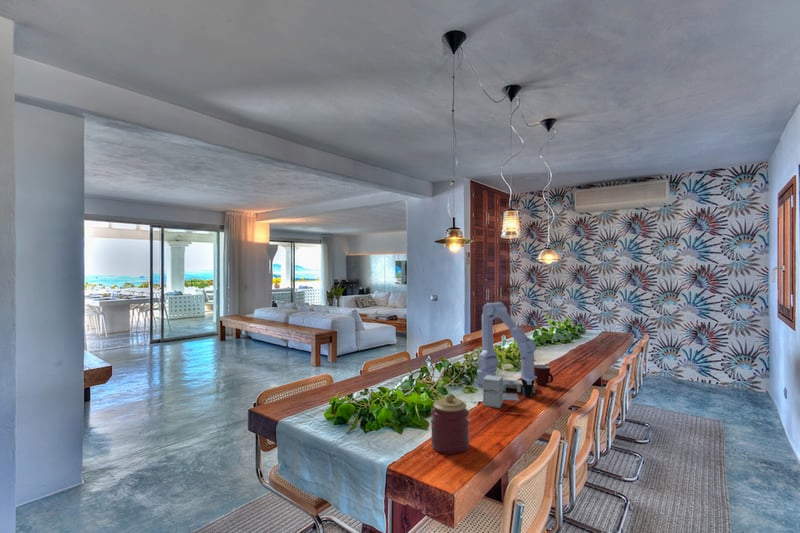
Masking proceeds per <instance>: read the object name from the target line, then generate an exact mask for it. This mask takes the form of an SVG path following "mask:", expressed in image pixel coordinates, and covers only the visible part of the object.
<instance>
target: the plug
mask: <svg viewBox="0 0 800 533" xmlns="http://www.w3.org/2000/svg"><path fill="white" fill-rule="evenodd" d="M521 393H522V396H523V397H527V396H526V395H525V390H524V386H523V385H522V389H521ZM529 397H533V393H532V392H531V396H529Z"/></svg>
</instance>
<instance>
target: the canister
mask: <svg viewBox="0 0 800 533" xmlns="http://www.w3.org/2000/svg"><path fill="white" fill-rule="evenodd" d="M432 405H433V407H432V408H431V409H430V414H431V415H432V416H431V417H432V418H431V419H430V423H431V438H430V440H431V442H430V443H431V446H432V448H433V449H434V450H435V451H436V452H438V453H441V454H446V455H459V454H463V453H465V452H466V451H468V449H469V447H470V438H469V436H470V432H469V431H470V430H469V429H470V428H469V425H470V421H469V419H468V416H469V414H470V412H469V410H468V409H467V404H466V403H465V402H464V401H463V400H461V399H459V398H456V397H454V396H453V395H452V394H449V393H448V394H447V395H446V396H445V397H441V398H439V399H438V400H435V401H434V402H433V404H432Z"/></svg>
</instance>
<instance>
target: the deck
mask: <svg viewBox="0 0 800 533" xmlns="http://www.w3.org/2000/svg"><path fill="white" fill-rule="evenodd" d="M503 401H517V402H519V401H520V399H519V395H518V393H512V392H503Z"/></svg>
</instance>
